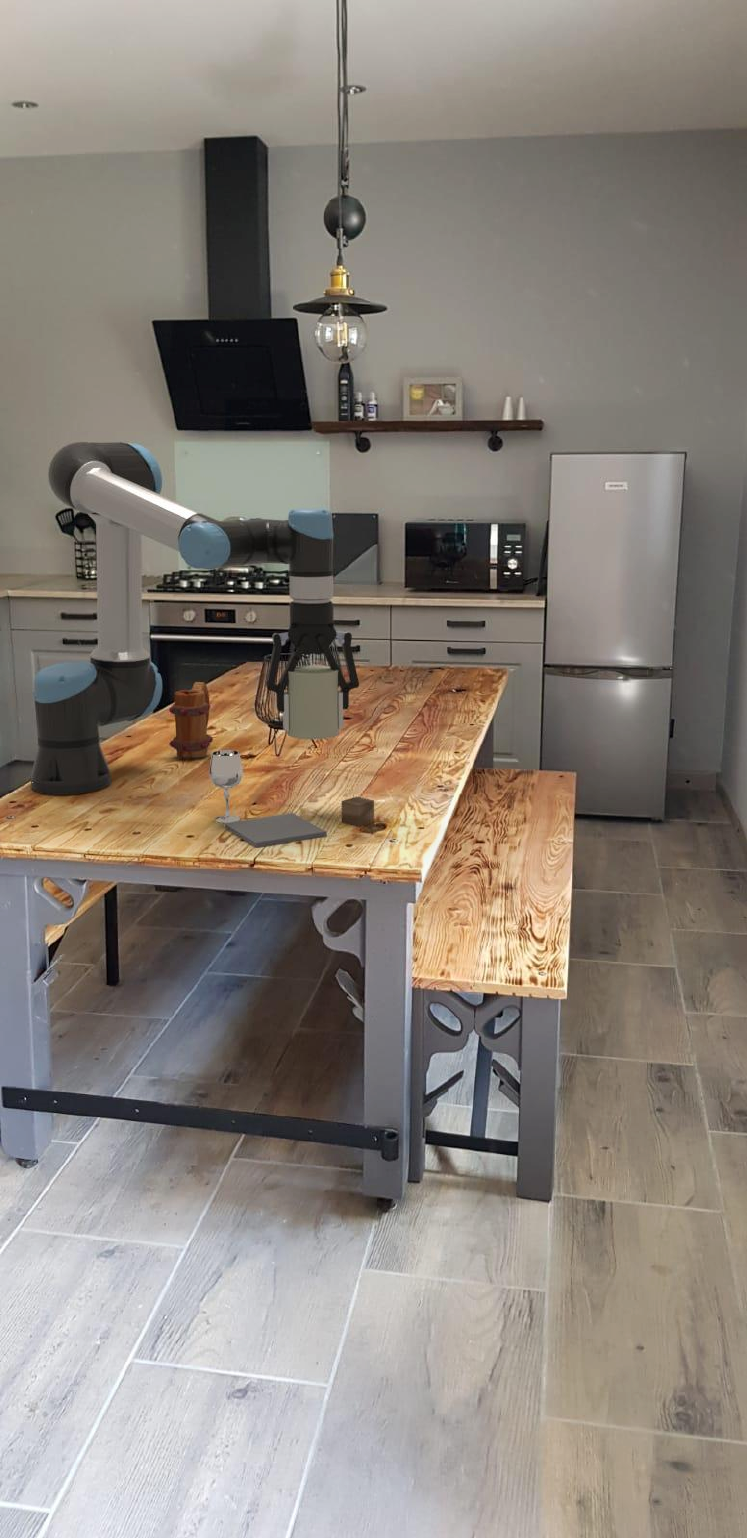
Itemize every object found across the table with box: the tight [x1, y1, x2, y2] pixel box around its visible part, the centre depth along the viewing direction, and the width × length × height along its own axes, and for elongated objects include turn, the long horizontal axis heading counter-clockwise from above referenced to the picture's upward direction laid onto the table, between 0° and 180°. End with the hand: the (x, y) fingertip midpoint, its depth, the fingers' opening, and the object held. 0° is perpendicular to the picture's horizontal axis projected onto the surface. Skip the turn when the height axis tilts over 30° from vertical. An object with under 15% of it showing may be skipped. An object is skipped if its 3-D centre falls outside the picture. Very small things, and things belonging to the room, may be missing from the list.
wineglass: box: [208, 749, 244, 824], centre depth 214 cm, size 6×6×12 cm
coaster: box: [223, 812, 327, 849], centre depth 208 cm, size 13×13×1 cm
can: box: [286, 664, 340, 740], centre depth 215 cm, size 9×9×12 cm
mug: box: [168, 681, 214, 760], centre depth 262 cm, size 15×8×15 cm, turn 168°
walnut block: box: [341, 796, 375, 828], centre depth 213 cm, size 4×4×4 cm
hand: (313, 728), depth 216 cm, fingers closed on can, 9 cm apart
